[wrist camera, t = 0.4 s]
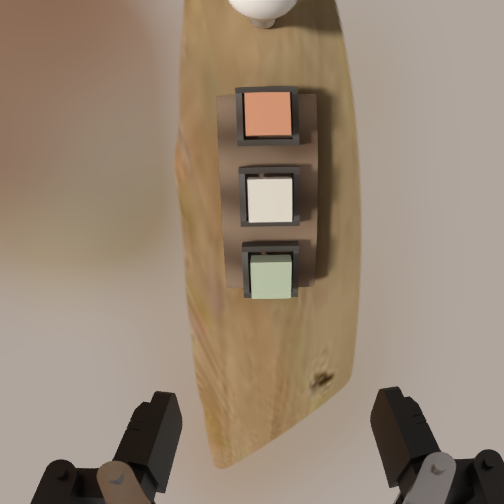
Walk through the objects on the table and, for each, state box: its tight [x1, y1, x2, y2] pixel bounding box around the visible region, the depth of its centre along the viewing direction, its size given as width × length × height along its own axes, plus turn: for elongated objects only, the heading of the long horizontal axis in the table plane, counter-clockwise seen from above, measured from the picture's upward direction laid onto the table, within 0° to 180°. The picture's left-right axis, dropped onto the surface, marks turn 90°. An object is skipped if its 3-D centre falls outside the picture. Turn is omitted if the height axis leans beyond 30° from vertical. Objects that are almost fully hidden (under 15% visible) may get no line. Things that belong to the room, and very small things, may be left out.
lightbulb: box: [228, 0, 298, 29], centre depth 20 cm, size 6×6×11 cm
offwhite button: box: [247, 177, 292, 223], centre depth 28 cm, size 4×4×2 cm
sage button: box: [250, 255, 292, 299], centre depth 31 cm, size 4×4×2 cm
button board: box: [217, 86, 318, 298], centre depth 30 cm, size 22×10×4 cm, turn 2°
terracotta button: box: [244, 92, 291, 136], centre depth 25 cm, size 4×4×2 cm
